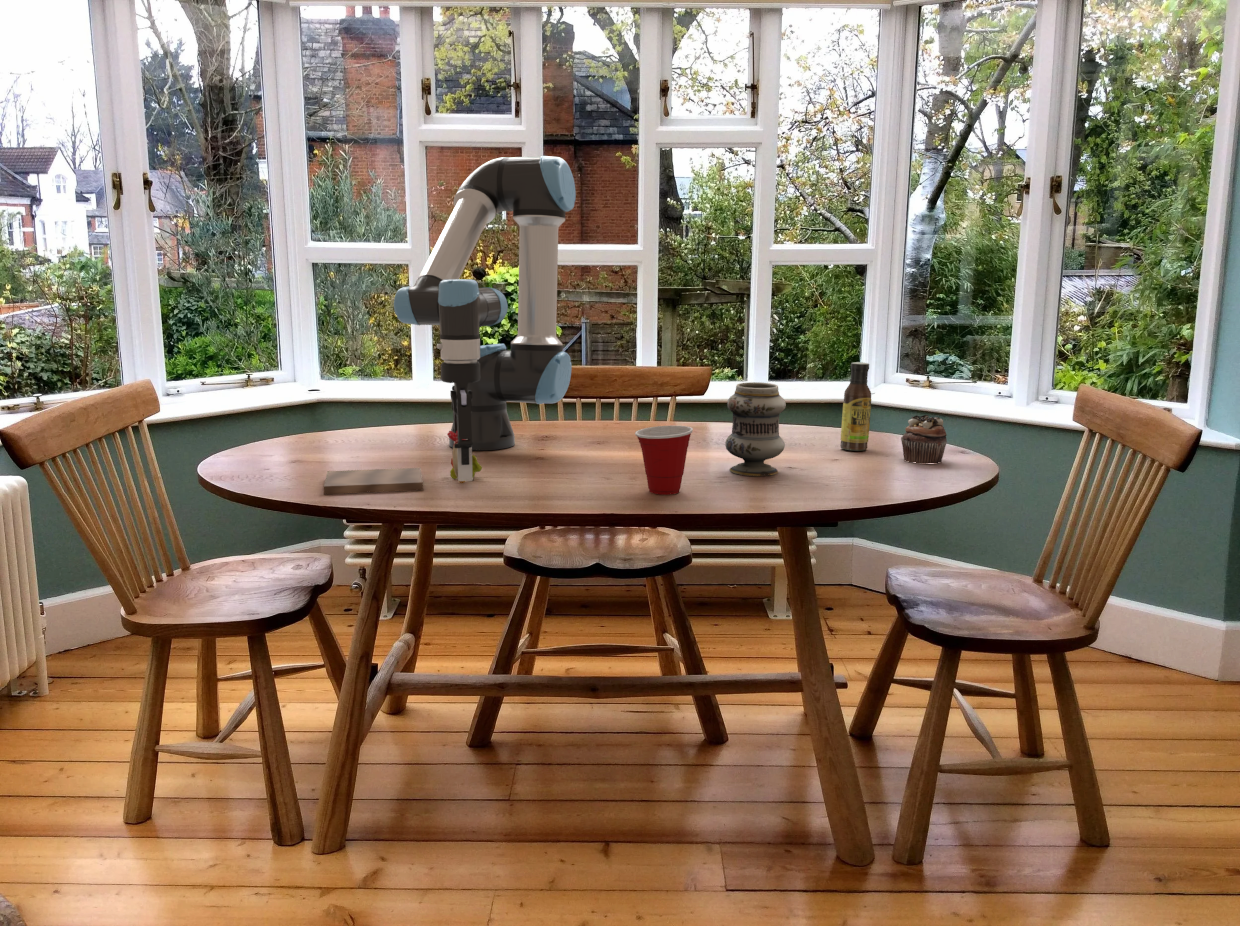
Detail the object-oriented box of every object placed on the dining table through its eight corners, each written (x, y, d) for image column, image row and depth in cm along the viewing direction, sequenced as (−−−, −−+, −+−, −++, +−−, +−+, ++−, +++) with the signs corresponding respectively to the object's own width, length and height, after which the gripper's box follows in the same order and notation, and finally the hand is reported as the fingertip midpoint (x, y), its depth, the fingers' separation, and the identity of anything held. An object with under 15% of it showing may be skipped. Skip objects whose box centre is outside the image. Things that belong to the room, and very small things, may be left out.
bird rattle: (478, 493, 202) (483, 466, 210) (474, 446, 196) (479, 420, 203) (446, 493, 202) (452, 466, 209) (440, 446, 196) (446, 420, 203)
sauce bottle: (850, 452, 234) (855, 364, 230) (834, 448, 240) (838, 362, 236) (874, 451, 237) (878, 363, 233) (857, 446, 242) (862, 361, 239)
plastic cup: (630, 486, 200) (631, 424, 198) (685, 484, 201) (687, 423, 199) (638, 498, 189) (639, 434, 187) (697, 497, 191) (698, 432, 188)
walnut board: (420, 474, 209) (420, 467, 209) (423, 490, 196) (422, 482, 195) (327, 478, 205) (327, 471, 205) (323, 494, 192) (323, 486, 191)
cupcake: (953, 460, 226) (956, 415, 224) (932, 467, 219) (935, 420, 217) (913, 454, 233) (915, 410, 231) (891, 460, 226) (894, 415, 224)
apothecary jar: (746, 480, 206) (748, 389, 202) (713, 469, 216) (715, 382, 213) (795, 474, 211) (799, 386, 208) (761, 463, 222) (764, 379, 218)
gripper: (437, 355, 209) (441, 464, 214) (443, 367, 188) (447, 488, 193) (475, 355, 211) (478, 463, 215) (485, 366, 190) (488, 486, 194)
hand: (463, 475), depth 204 cm, fingers closed on bird rattle, 9 cm apart
